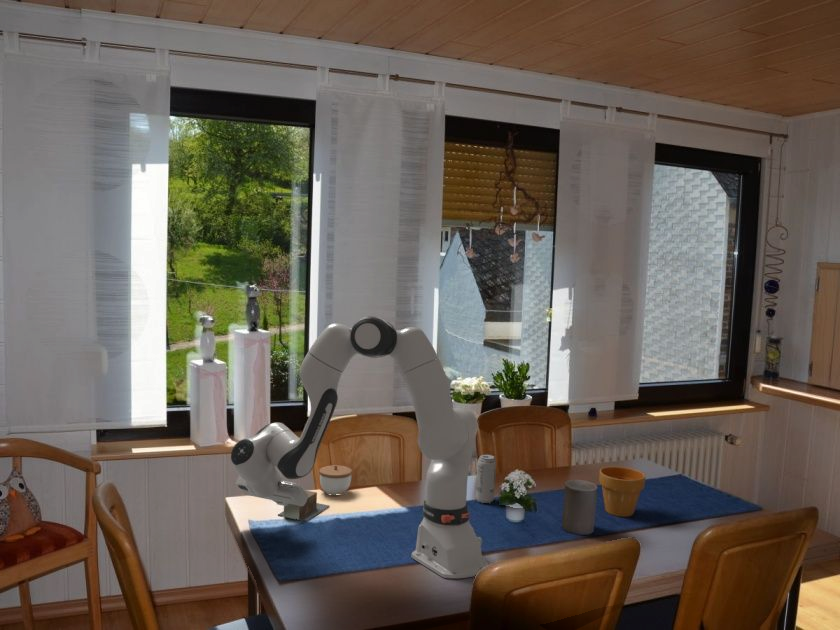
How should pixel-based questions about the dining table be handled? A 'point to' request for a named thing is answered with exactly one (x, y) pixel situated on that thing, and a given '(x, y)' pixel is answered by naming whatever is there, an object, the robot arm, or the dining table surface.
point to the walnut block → (301, 507)
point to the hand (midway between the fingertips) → (283, 503)
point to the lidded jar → (335, 479)
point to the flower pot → (621, 489)
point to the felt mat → (313, 513)
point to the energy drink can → (485, 479)
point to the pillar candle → (579, 507)
